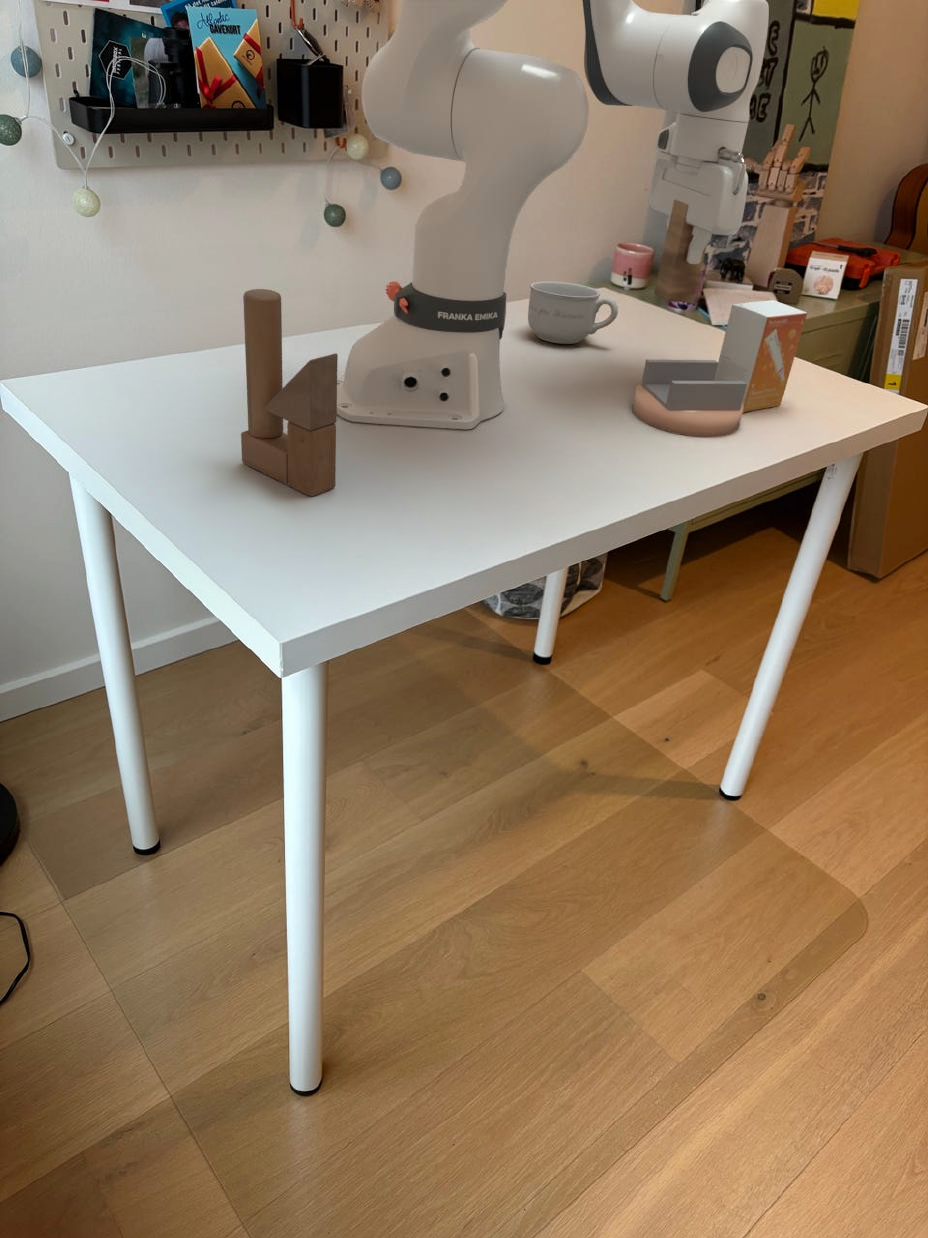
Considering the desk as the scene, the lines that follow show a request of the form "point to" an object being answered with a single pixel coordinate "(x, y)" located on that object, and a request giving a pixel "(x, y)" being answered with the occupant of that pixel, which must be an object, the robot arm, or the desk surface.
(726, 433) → the round base with bracket
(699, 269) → the wood grain beam
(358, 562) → the desk surface
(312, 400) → the brown wooden block assembly
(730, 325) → the small box
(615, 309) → the teacup
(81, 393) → the desk surface
